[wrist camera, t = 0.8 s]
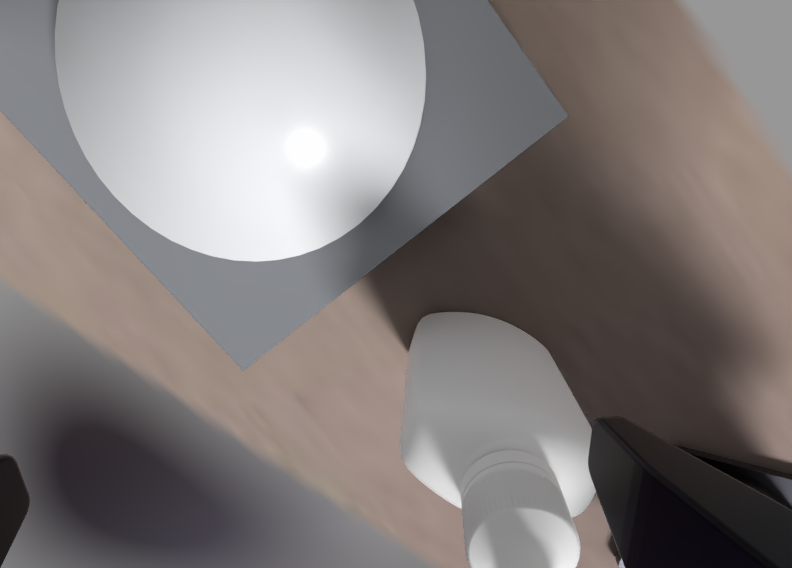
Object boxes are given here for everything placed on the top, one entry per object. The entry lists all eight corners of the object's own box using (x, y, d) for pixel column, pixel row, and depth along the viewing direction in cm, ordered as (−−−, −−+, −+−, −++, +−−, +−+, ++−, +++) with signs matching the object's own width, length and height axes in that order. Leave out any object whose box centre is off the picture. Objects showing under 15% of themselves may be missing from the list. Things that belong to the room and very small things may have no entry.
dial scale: (546, 120, 18) (588, 112, 13) (268, 340, 21) (221, 397, 17) (267, -275, 16) (195, -459, 11) (-4, 40, 19) (-153, 5, 14)
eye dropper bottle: (485, 428, 22) (546, 749, 10) (392, 340, 21) (347, 582, 9) (563, 363, 21) (731, 640, 9) (469, 269, 20) (523, 443, 8)
